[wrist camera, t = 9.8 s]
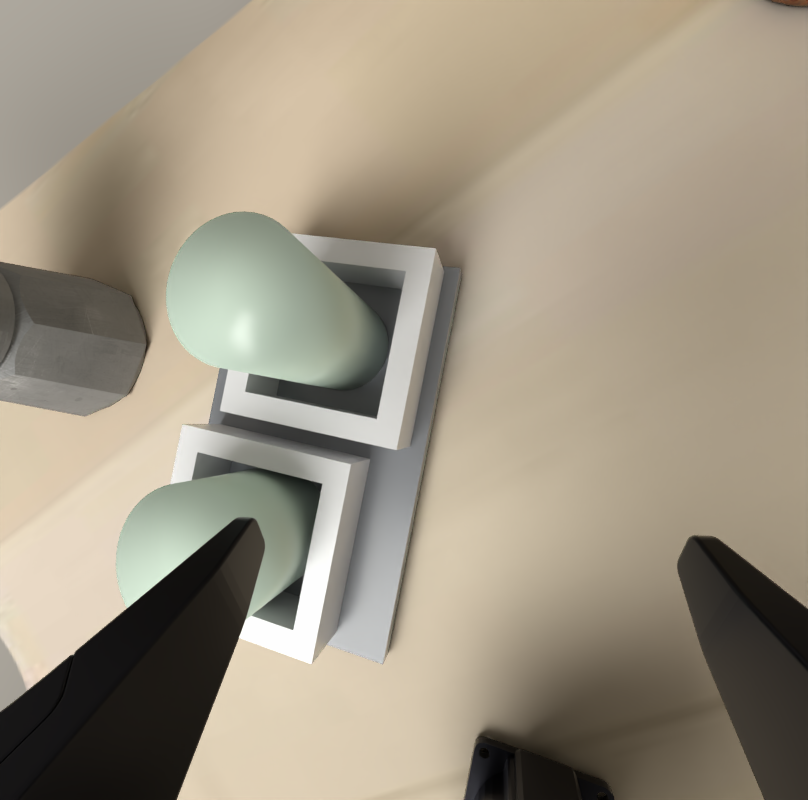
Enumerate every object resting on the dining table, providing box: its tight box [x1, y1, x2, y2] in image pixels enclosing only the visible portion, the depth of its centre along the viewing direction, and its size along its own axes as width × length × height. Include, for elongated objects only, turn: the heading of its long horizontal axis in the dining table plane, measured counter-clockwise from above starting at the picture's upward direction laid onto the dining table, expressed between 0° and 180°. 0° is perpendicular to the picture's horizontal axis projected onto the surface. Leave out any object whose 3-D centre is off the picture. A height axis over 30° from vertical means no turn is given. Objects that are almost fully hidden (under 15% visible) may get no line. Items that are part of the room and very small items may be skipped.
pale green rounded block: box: [166, 212, 388, 390], centre depth 18 cm, size 5×5×10 cm
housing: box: [116, 233, 462, 664], centre depth 20 cm, size 21×13×8 cm, turn 168°
